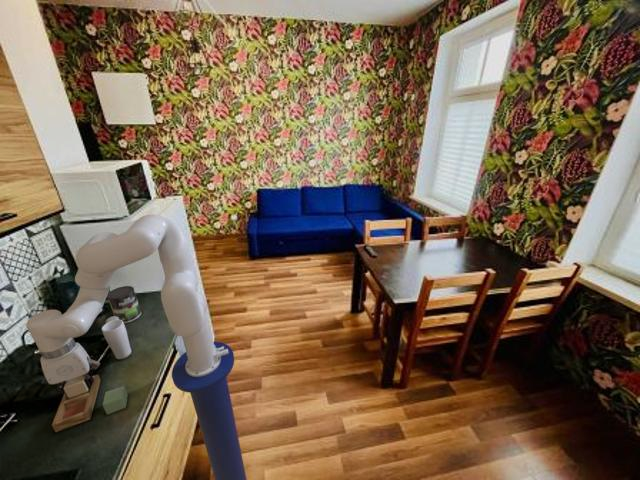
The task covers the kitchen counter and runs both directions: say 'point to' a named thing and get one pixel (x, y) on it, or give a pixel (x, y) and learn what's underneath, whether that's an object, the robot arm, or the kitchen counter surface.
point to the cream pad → (75, 386)
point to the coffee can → (124, 303)
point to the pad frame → (76, 408)
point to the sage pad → (115, 400)
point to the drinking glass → (117, 338)
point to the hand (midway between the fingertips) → (80, 388)
